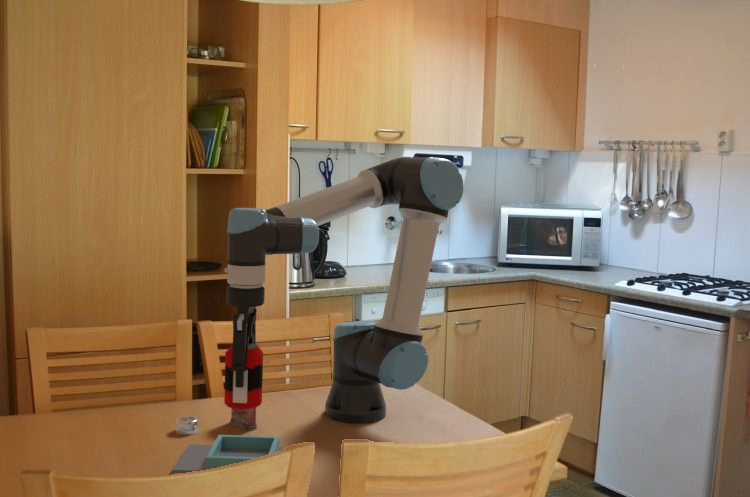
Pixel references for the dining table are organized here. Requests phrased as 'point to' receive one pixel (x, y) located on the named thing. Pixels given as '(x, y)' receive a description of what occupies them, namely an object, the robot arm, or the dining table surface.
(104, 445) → the dining table surface
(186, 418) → the grooved metal pulley
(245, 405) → the soda can
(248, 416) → the lighter
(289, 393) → the dining table surface
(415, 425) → the dining table surface
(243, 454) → the dock
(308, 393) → the dining table surface
